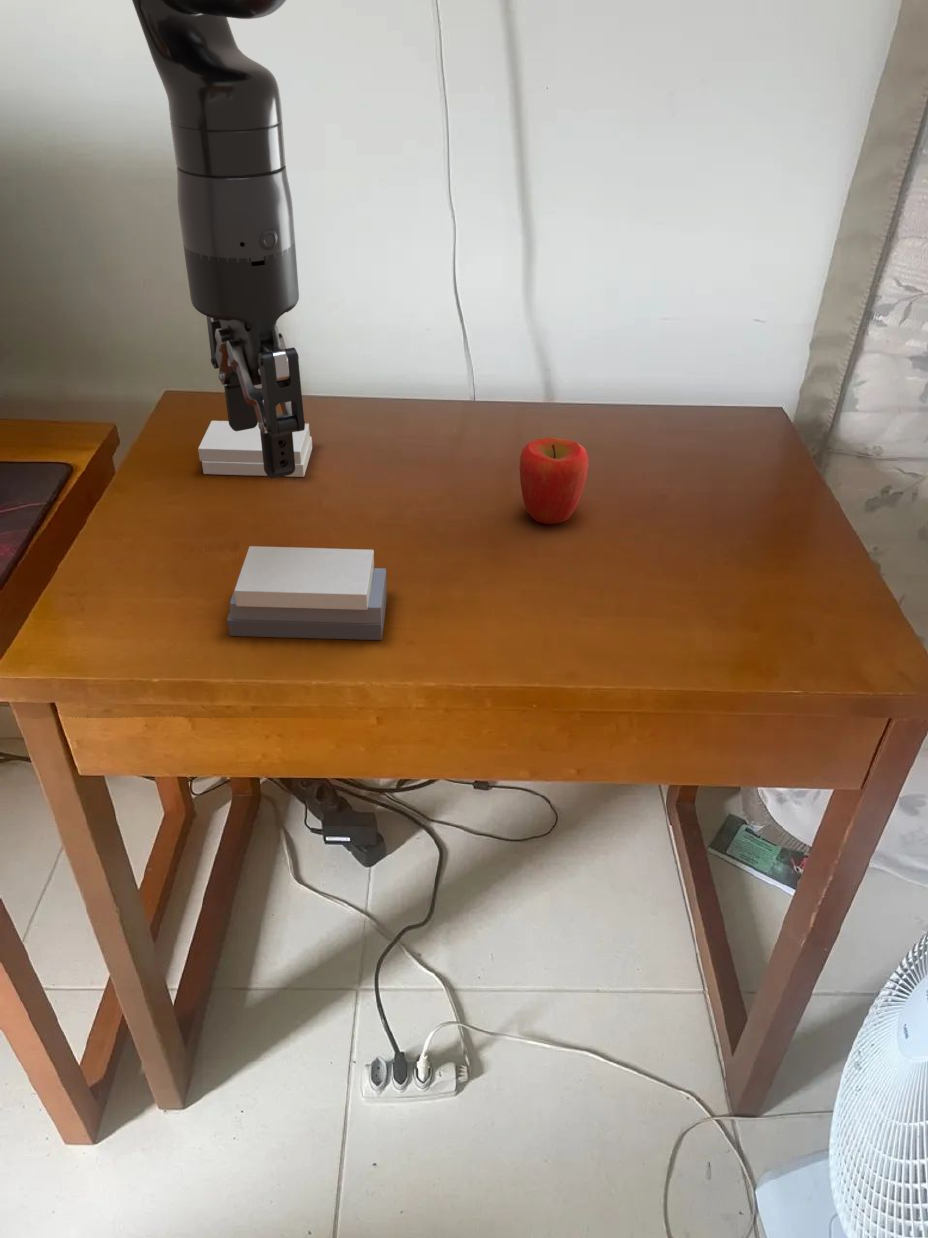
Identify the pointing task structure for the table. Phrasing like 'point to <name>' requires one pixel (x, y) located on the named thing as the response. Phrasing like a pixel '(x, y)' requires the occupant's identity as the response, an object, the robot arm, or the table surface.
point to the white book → (305, 578)
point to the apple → (552, 478)
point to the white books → (246, 451)
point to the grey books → (314, 618)
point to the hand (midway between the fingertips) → (261, 450)
